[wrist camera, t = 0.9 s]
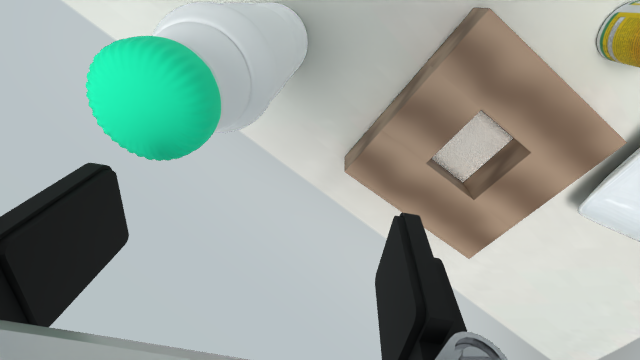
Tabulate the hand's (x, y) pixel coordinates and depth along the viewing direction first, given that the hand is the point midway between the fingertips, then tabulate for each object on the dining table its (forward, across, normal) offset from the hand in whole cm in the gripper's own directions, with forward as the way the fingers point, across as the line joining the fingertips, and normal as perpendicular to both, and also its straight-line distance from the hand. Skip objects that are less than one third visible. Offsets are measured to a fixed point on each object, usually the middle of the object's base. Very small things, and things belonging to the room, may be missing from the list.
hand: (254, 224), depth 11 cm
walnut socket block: (+27, -18, +6) cm, 33 cm away
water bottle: (+28, +5, -2) cm, 28 cm away
